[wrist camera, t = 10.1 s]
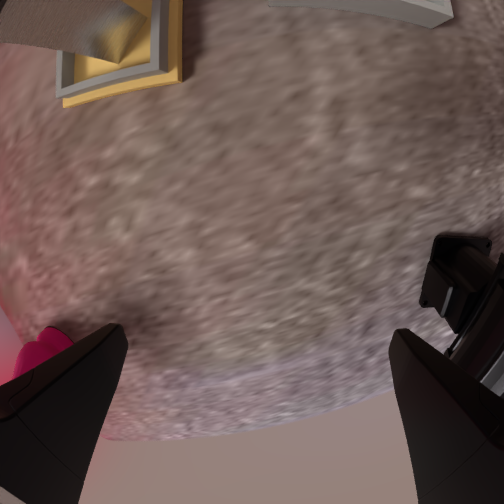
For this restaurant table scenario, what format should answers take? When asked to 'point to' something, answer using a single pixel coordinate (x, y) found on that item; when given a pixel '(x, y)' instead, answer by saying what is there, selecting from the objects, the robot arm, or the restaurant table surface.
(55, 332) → the pepper mill
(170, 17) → the square tray
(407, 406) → the robot arm
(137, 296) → the restaurant table surface
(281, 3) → the light gray open tray
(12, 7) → the grey rectangular block
